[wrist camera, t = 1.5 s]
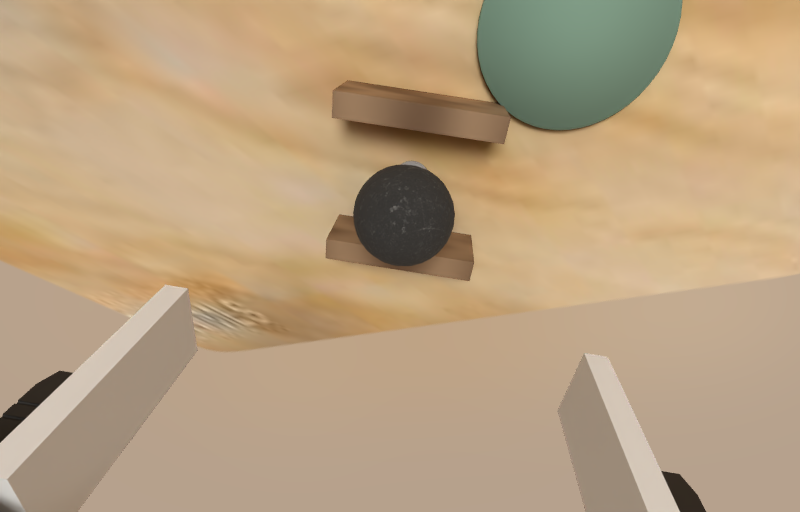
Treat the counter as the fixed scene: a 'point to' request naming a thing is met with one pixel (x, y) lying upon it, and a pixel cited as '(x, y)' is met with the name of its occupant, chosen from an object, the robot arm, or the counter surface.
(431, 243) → the light bulb
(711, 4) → the counter surface
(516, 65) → the pad
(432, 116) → the pair of wooden planks
